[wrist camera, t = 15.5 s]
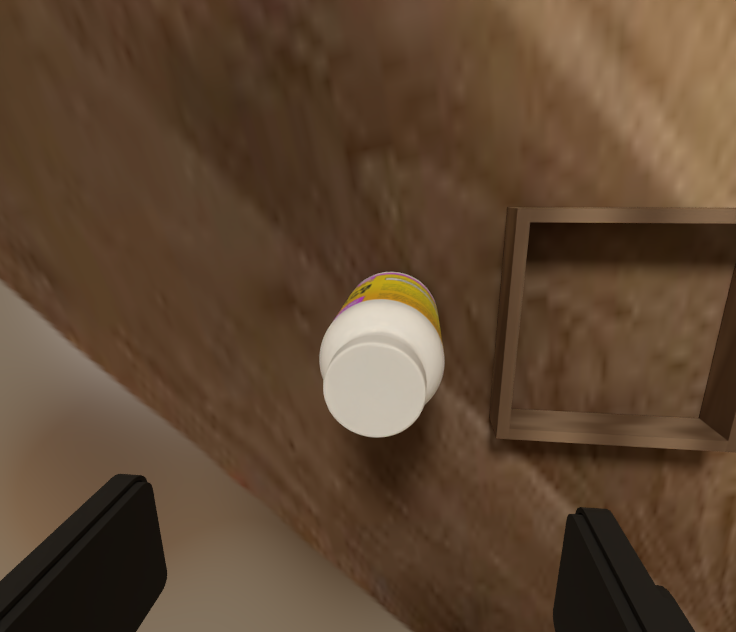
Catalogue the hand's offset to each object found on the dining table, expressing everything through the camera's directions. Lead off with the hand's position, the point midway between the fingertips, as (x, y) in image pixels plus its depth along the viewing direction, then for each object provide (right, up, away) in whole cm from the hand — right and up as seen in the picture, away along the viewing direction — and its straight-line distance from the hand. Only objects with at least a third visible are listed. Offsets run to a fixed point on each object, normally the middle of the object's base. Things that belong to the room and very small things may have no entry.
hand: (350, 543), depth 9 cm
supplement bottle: (+2, +5, +22) cm, 23 cm away
